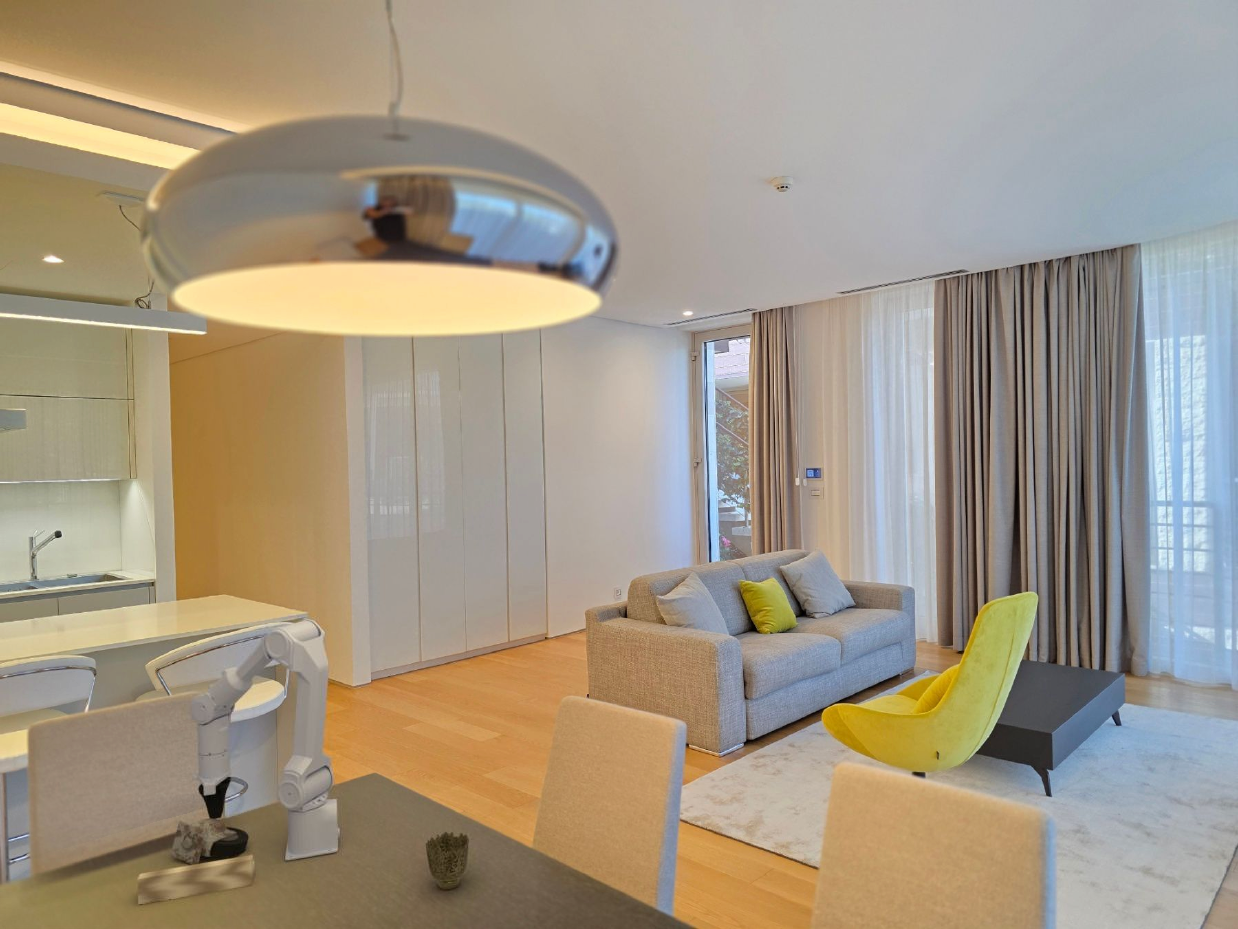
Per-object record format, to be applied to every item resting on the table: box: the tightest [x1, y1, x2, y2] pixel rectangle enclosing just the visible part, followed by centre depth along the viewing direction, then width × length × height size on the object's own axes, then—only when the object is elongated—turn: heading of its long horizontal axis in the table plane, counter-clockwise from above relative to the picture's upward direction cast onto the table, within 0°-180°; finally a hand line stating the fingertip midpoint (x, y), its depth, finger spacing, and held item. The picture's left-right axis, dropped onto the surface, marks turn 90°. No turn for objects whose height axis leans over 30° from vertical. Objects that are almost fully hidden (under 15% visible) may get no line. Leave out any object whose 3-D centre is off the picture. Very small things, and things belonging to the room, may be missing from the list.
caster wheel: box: [170, 818, 250, 865], centre depth 159 cm, size 7×11×10 cm
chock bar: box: [137, 854, 256, 906], centre depth 146 cm, size 18×5×4 cm, turn 109°
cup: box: [425, 831, 470, 891], centre depth 144 cm, size 8×7×8 cm
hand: (216, 817), depth 167 cm, fingers closed
